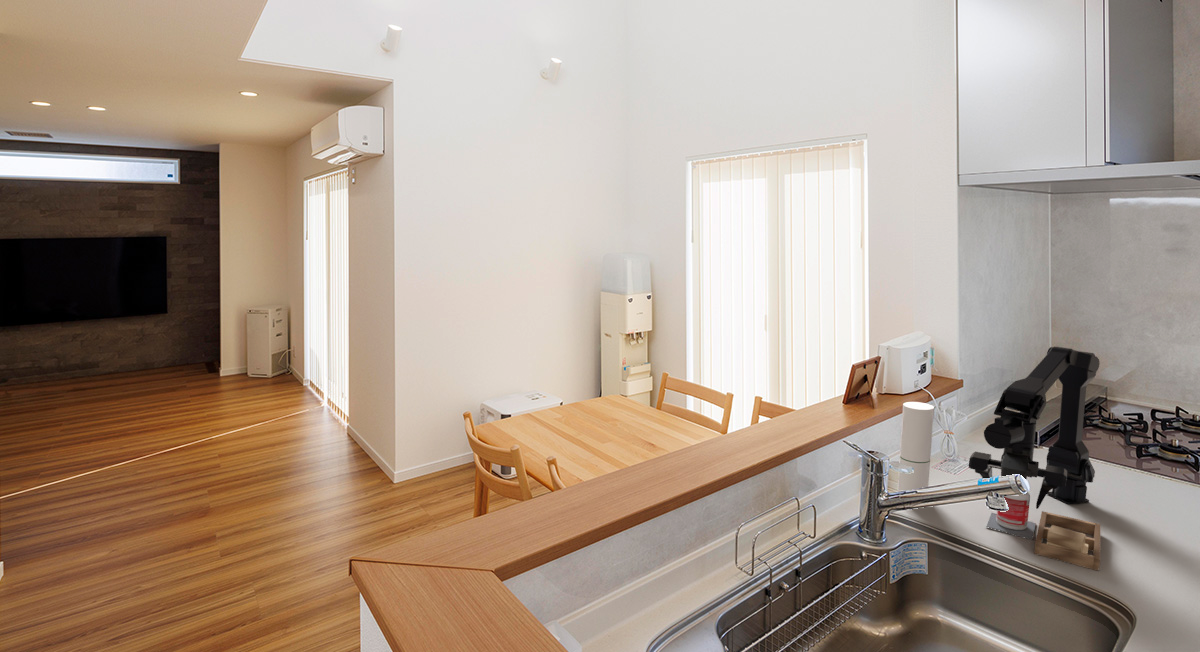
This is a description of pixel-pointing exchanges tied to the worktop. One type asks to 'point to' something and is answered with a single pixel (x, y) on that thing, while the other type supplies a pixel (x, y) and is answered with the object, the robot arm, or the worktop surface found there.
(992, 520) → the mat
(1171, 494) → the worktop surface
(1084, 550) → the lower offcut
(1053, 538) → the upper offcut
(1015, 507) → the pill bottle
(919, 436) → the cylindrical container
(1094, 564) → the rack
